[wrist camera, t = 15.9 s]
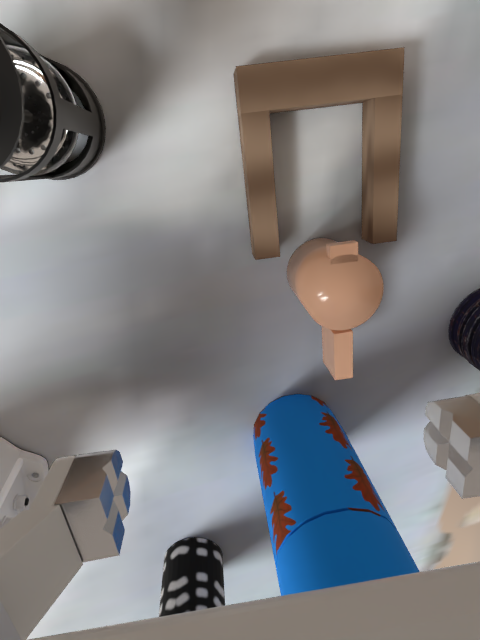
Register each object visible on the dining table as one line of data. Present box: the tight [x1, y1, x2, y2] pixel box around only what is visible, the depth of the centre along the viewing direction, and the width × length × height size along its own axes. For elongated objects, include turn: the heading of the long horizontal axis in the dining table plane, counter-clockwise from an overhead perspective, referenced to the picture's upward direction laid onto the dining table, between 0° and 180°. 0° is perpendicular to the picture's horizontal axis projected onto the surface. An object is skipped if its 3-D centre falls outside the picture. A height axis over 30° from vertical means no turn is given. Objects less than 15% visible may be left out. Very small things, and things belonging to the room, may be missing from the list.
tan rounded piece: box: [287, 238, 383, 380], centre depth 38 cm, size 13×7×8 cm, turn 7°
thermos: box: [253, 394, 419, 596], centre depth 37 cm, size 11×11×25 cm
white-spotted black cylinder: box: [159, 538, 225, 617], centre depth 46 cm, size 8×8×20 cm
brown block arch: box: [234, 47, 404, 260], centre depth 36 cm, size 16×14×3 cm
